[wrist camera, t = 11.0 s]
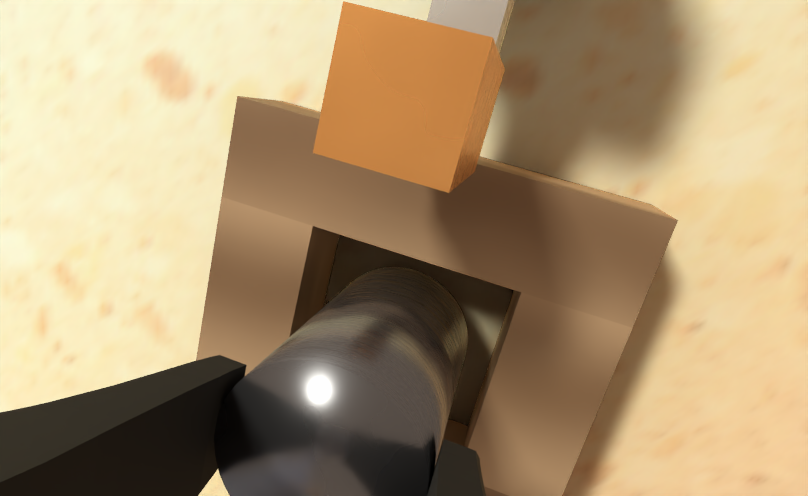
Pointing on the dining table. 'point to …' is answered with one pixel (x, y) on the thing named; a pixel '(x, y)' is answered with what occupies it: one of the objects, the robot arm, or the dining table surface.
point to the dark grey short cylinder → (349, 396)
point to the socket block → (449, 248)
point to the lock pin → (414, 90)
